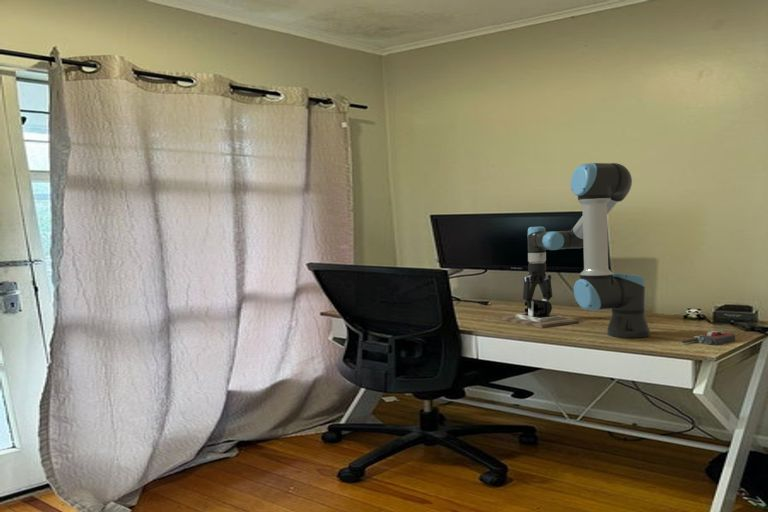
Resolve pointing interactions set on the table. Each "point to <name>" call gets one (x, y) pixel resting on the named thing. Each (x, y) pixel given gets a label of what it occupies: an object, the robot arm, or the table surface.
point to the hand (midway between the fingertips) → (538, 314)
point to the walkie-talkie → (713, 338)
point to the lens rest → (539, 320)
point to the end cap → (540, 308)
